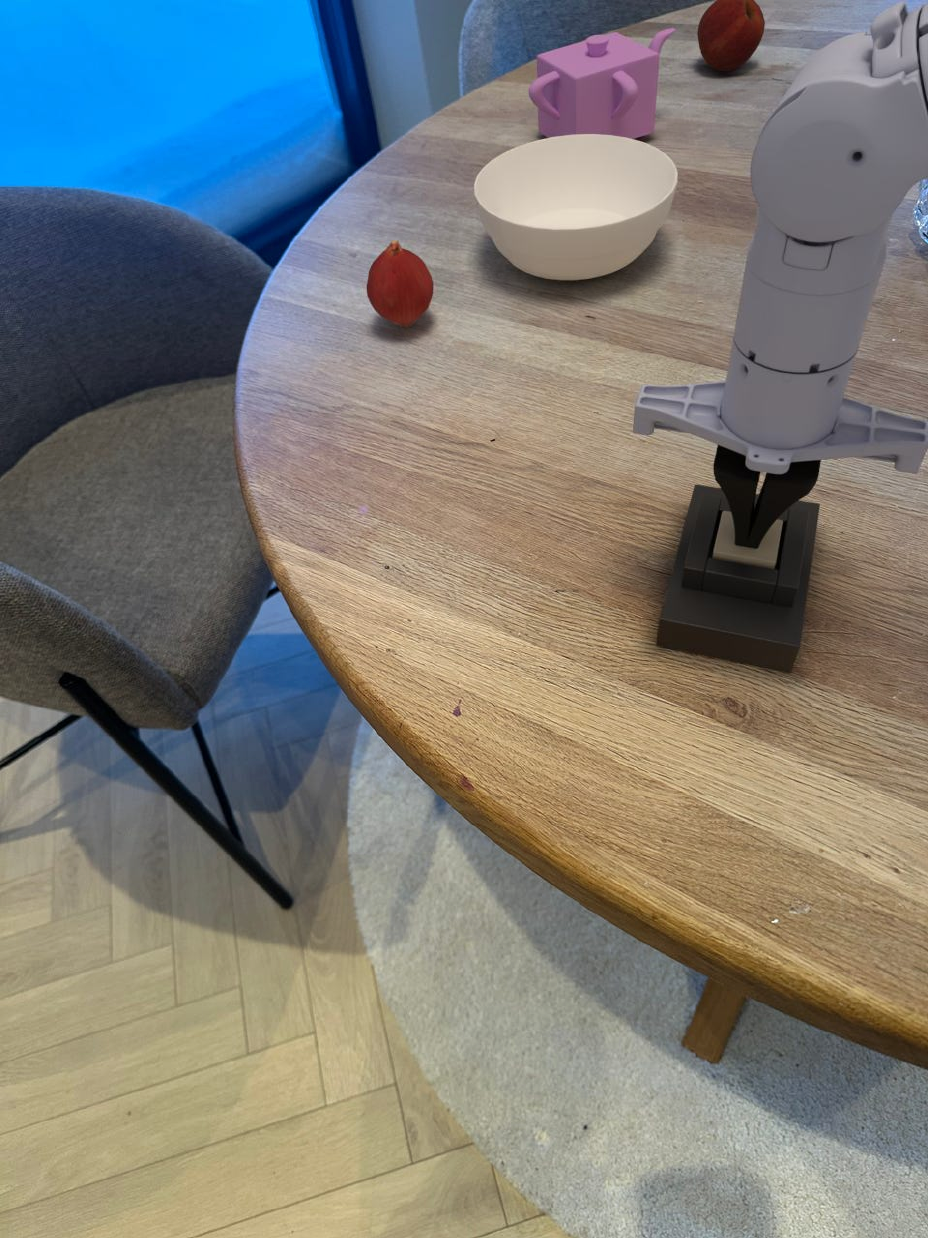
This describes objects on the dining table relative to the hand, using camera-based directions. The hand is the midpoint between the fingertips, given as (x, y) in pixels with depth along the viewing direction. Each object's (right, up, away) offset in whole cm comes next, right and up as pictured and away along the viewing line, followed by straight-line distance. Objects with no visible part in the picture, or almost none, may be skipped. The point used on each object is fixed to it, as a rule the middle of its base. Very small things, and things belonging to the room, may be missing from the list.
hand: (748, 535), depth 51 cm
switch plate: (0, -3, +4) cm, 5 cm away
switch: (0, -1, +1) cm, 2 cm away
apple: (+15, +64, +55) cm, 85 cm away
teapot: (-1, +50, +46) cm, 68 cm away
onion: (-22, +22, +26) cm, 41 cm away
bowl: (-6, +30, +31) cm, 44 cm away
